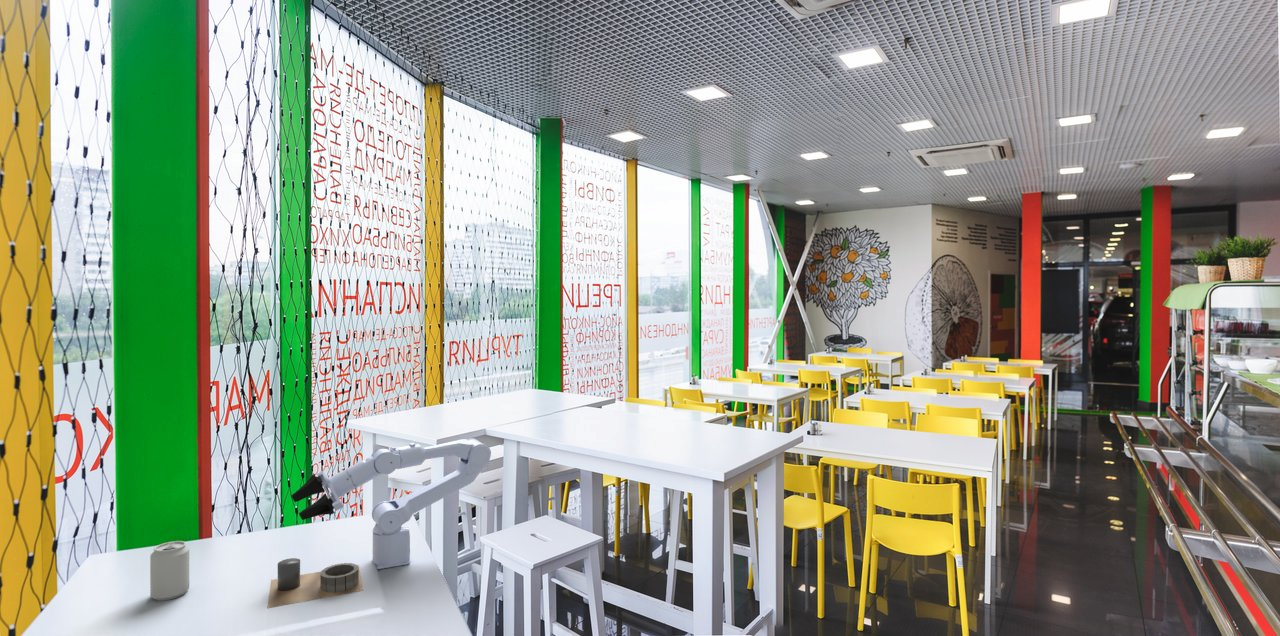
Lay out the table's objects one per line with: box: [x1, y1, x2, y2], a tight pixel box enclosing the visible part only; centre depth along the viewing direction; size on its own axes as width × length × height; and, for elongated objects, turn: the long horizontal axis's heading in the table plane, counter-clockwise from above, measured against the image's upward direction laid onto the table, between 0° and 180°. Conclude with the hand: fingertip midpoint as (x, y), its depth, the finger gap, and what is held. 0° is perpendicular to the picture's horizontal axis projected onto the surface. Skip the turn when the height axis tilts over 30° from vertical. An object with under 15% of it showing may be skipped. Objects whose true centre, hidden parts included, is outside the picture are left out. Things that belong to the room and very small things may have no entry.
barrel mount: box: [267, 562, 364, 609], centre depth 152 cm, size 20×16×4 cm
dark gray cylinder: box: [277, 557, 301, 591], centre depth 151 cm, size 5×5×6 cm
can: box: [149, 540, 190, 601], centre depth 148 cm, size 8×8×12 cm
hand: (296, 507), depth 156 cm, fingers open, 7 cm apart
